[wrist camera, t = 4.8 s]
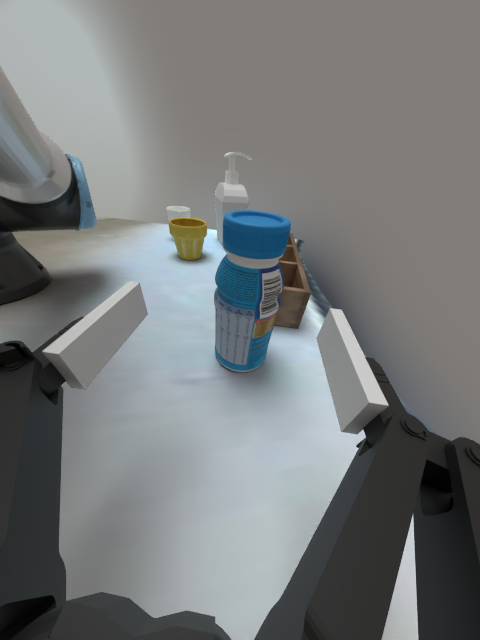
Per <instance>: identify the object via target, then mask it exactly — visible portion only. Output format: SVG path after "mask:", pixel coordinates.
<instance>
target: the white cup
mask: <svg viewBox="0 0 480 640" xmlns="http://www.w3.org/2000/svg"><path fill="white" fill-rule="evenodd" d="M166 212H167V218H168V223H169V220H170V219H173V218H182V217H184V218H191V217H190V215H191V214H190V208H188V207H183V206H169V207H166ZM171 237H172V240H174V238H173V236H172V235H171Z"/></svg>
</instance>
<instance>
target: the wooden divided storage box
mask: <svg viewBox="0 0 480 640" xmlns="http://www.w3.org/2000/svg"><path fill="white" fill-rule="evenodd" d="M278 260H279V262H280V265H281V268H282V271H283V275H284V287H283V290H282V292H281V293H280V294H279V295H280V307H279V310H278V312H277V314H276V318H275V321H274V325H277V326H284V327H291V328H298V327H299V325H300V322H301V319H302V316H303V314H304V311H305V308H306V305H307V303H308V300H309V297H310V294H311V291H310V288H309V285H308V281H307V278H306V275H305V272H304V269H303V265H302V262H301V259H300V256H299V253H298V249H297V246H296V243H295V240H294V237H293V234H289V238H288V242H287V246H286V250H285V253H284V254H283V256H282V257H281V258H280V259H278Z"/></svg>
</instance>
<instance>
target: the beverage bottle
mask: <svg viewBox="0 0 480 640" xmlns="http://www.w3.org/2000/svg"><path fill="white" fill-rule="evenodd" d="M290 225H291V223H290V221H289V220H288V219H287V218H285V217H283V216H280V215H276V214H273V213H268V212H262V211H252V210H237V211H231V212H228V213H226V214H225V215H224V220H223V247H224V250H225V252H226V253H227V254H226V256H225V257H224V258H223V260H222V261H221V263H220V265H219V267H218V269H217V272H216V276H215V282H216V285H217V286H218V287H217V288H216V290H215V294H214V303H215V307H216V342H215V354H216V357H217V359H218V361H219V362H220V363H221V364H222V365H223V366H224V367H226V368H228V369H230V370H233V371H237V372H248V371H252V370H254V369H256V368H258V367H259V366H260V365H261V364H262V363H263V362H264V360H265V357H266V353H267V348H268V344H269V340H270V336H271V333H272V329H273V325H274V321H275V318H276V314H277V312H278V310H279V307H280V295H279V294H280V293H281V292H282V290H283V287H284V275H283V271H282V268H281V265H280V262H279V260H278V259H280V258H281V257H282V256H283V254H284V253H285V250H286V246H287V242H288V238H289V234H290Z"/></svg>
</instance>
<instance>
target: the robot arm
mask: <svg viewBox="0 0 480 640" xmlns="http://www.w3.org/2000/svg"><path fill="white" fill-rule="evenodd" d="M96 224H97V220H96V216H95V212H94V208H93V204H92V200H91V196H90V192H89V188H88V185H87V180H86V177H85V173H84V169H83V166H82V163H81V161H80V160H79V159H78V158H77V157H74V156H70V155H68V154H64V153H63V151H62V150H61V149H60V147H59V146H58V145H57V144H56V143H55V142H54V141H53V140H51V139H50V138H49V137H48V136H46V135H45V134H44V133H42V132H40V131H39V130H38V129H37V128H36V126H35V124H34V122H33V121H32V119H31V118H30V116H29V114H28V113H27V111H26V109H25V107H24V106H23V104H22V102H21V100H20V99H19V97H18V96H17V94H16V92H15V90H14V89H13V87H12V85H11V84H10V82H9V81H8V79H7V77H6V75H5V74H4V72H3V70H2V68H1V67H0V304H3V303H8V302H11V301H15V300H18V299H21V298H24V297H27V296H29V295H31V294H34V293H36V292H38V291H39V290H41V289H43V288H44V287H45V286H47V285H48V283H49V282H50V280H51V277H50V275H49V273H48V271H47V270H46V268H45V267H44V266H43V265H42V264H41V263H40V262H39V261H38V260H37V259H35V258H34V257H33V256H32V255H31V254H30V253H29V252H28V251H27V250H25V249H24V248H23V247H22V246H21V245H20V244H19V243H18V242H17V240H16V239H15V237H14V235H13V234H12V232H18V231H45V230H81V229H89V228H93V227H95V226H96ZM147 315H148V312H147V309H146V305H145V301H144V298H143V294H142V290H141V286H140V283H138V282H130V281H129V282H127V283H126V284H125V285H124V286H123V287H121V288H120V289H119V290H118V291H116V292H115V293H114V294H113V295H111V296H110V297H109V298H108V299H106V300H105V301H104V302H103V303H101V304H100V305H99V306H98V307H96V308H95V309H94V310H93V311H91V312H90V313H89V314H88V315H86V316H85V317H81V318H79V319H77V320H75V321H73V322H71V323H70V324H69V325H67V326H66V327H65V328H64V329H62V330H61V331H60V332H58V334H56V335H55V336H53V337H52V338H51V339H49V340H48V341H47V342H46V343H44V344H43V345H42V346H40V347H39V348H38V349H37V350H35V351H34V352H33V353H32V352H31V351H30V350H29V348H28V347H27V346H26V345H25V344H24V343H23V342H21V341H9V342H4V343H1V344H0V640H231V639H230V637H229V636H228V635H227V634H226V632H225V631H224V630H223V629H222V628H221V627H220V626H218V625H217V624H216V623H215V617H214V616H209V615H205V614H200V613H195V612H191V611H183V612H179V613H175V614H171V615H167V616H163V617H159V618H153V617H151V616H150V615H149V614H147V613H146V612H145V611H144V610H143V609H141V608H140V607H139V606H138V605H137V604H135V603H134V602H133V601H132V600H130V599H129V598H126V597H121V596H117V595H112V594H108V593H103V592H100V593H96V594H93V595H89V596H85V597H81V598H77V599H73V600H69V601H66V570H65V565H64V562H63V560H62V558H61V556H60V554H59V515H60V482H61V449H62V416H63V388H62V386H61V385H62V384H63V383H64V382H65V381H66V382H67V383H68V384H69V385H70V387H72V388H79V389H86V388H87V387H88V386H89V384H90V383H91V382H92V381H93V380H94V378H95V377H96V376H97V375H98V374H99V372H100V371H101V370H102V369H103V368H104V366H105V365H106V364H107V363H108V362H109V360H110V359H111V358H112V357H113V356H114V354H115V353H116V352H117V351H118V350H119V348H120V347H121V346H122V345H123V344H124V342H125V341H126V340H127V339H128V338H129V336H130V335H131V334H132V333H133V332H134V330H135V329H136V328H137V327H138V326H139V324H140V323H141V322H142V321H143V320H144V318H145V317H146V316H147ZM317 342H318V346H319V349H320V353H321V357H322V361H323V364H324V368H325V372H326V376H327V380H328V383H329V387H330V391H331V395H332V398H333V402H334V406H335V410H336V413H337V417H338V421H339V425H340V429H341V432H346V433H352V434H358V433H359V432H360V431H362V430H363V429H364V432H365V435H366V438H365V439H363V440H362V441H361V442H360V443H359V444H358V445H357V446H356V447H358V448H359V449H358V451H357V453H356V455H355V457H354V459H353V461H352V462H351V464H350V466H349V468H348V470H347V472H346V474H345V476H344V478H343V480H342V482H341V484H340V486H339V487H338V489H337V491H336V493H335V495H334V497H333V499H332V501H331V503H330V505H329V507H328V509H327V510H326V512H325V514H324V516H323V518H322V520H321V522H320V524H319V526H318V528H317V530H316V532H315V533H314V535H313V537H312V539H311V541H310V543H309V545H308V547H307V549H306V551H305V553H304V555H303V556H302V558H301V560H300V562H299V564H298V566H297V568H296V570H295V572H294V574H293V576H292V578H291V580H290V581H289V583H288V585H287V587H286V589H285V591H284V593H283V595H282V596H281V598H280V599H279V601H278V602H277V603H276V604H275V605H274V606H273V608H272V609H271V610H270V612H269V613H268V615H267V617H266V619H265V620H264V622H263V624H262V626H261V628H260V630H259V632H258V633H257V635H256V637H255V639H254V640H381V639H382V635H383V631H384V627H385V623H386V619H387V615H388V611H389V607H390V603H391V599H392V595H393V591H394V587H395V583H396V579H397V575H398V571H399V567H400V563H401V559H402V555H403V551H404V547H405V543H406V539H407V535H408V531H409V527H410V523H411V519H412V515H413V516H414V540H415V564H416V587H417V611H418V635H419V640H480V445H479V444H478V443H476V442H475V441H473V440H470V439H467V438H462V437H459V438H457V439H455V440H453V441H450V440H447V439H445V438H443V437H441V436H438V435H436V434H434V433H431V432H429V431H428V430H427V428H426V427H425V426H424V425H423V424H422V422H420V421H419V420H418V419H417V418H415V417H414V416H412V415H410V414H408V413H407V412H406V411H405V409H404V407H403V405H402V404H401V402H400V400H399V398H398V396H397V394H396V393H395V391H394V389H393V387H392V385H391V384H390V382H389V380H388V378H387V377H386V374H385V373H384V371H383V369H382V367H381V366H380V365H379V364H378V363H377V362H376V361H375V360H374V359H373V358H367V357H365V356H364V354H363V352H362V350H361V348H360V346H359V344H358V342H357V340H356V338H355V336H354V334H353V332H352V330H351V328H350V326H349V324H348V322H347V320H346V318H345V316H344V314H343V312H342V310H338V309H331V308H330V309H329V312H328V314H327V316H326V318H325V320H324V323H323V325H322V327H321V329H320V332H319V334H318V336H317Z"/></svg>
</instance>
